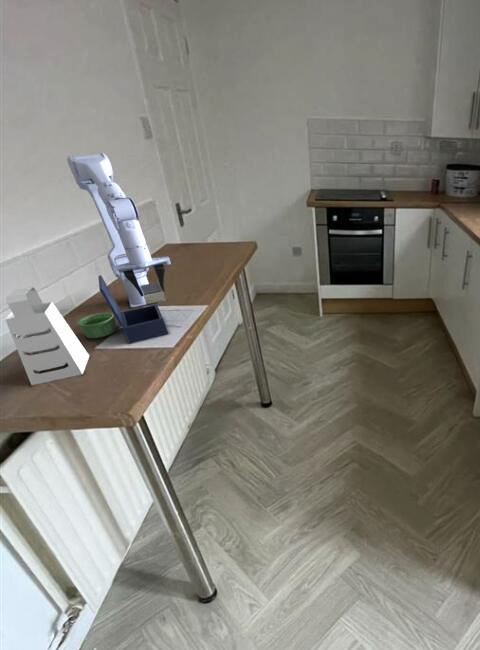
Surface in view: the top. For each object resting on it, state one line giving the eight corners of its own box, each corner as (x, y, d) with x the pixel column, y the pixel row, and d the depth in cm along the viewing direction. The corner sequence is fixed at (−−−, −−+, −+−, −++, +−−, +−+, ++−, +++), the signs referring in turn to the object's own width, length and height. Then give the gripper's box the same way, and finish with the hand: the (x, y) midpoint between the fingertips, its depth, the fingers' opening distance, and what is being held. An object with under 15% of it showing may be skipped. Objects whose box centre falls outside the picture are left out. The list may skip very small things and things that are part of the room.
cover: (101, 275, 116) (98, 275, 116) (102, 288, 105) (99, 289, 105) (120, 310, 122) (118, 311, 122) (123, 326, 112) (121, 327, 111)
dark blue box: (162, 318, 129) (156, 303, 126) (168, 333, 118) (163, 318, 116) (126, 326, 125) (120, 312, 122) (129, 343, 114) (123, 328, 112)
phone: (143, 295, 126) (139, 285, 125) (161, 291, 129) (158, 281, 127) (146, 304, 119) (142, 294, 117) (166, 300, 121) (162, 290, 120)
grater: (31, 385, 98) (-18, 304, 87) (42, 365, 106) (-1, 289, 95) (82, 374, 101) (41, 294, 90) (89, 355, 109) (52, 281, 98)
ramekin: (87, 330, 123) (80, 316, 121) (120, 323, 126) (115, 310, 124) (81, 342, 116) (74, 327, 114) (117, 335, 119) (111, 320, 117)
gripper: (106, 253, 110) (126, 302, 117) (165, 243, 116) (180, 291, 123) (105, 248, 115) (124, 296, 122) (161, 239, 121) (176, 285, 128)
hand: (152, 293), depth 123 cm, fingers closed on phone, 5 cm apart
